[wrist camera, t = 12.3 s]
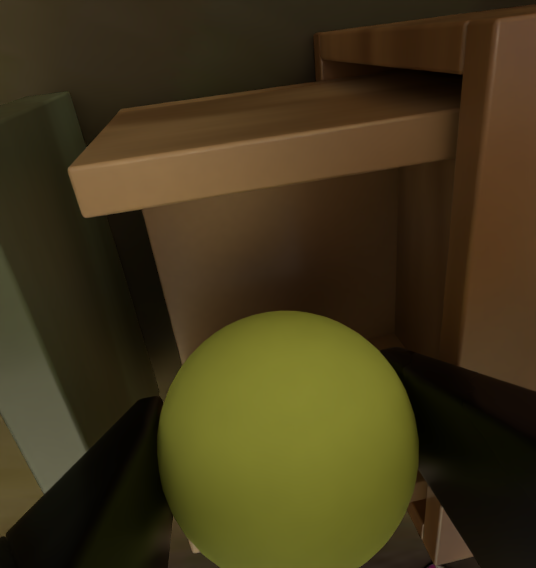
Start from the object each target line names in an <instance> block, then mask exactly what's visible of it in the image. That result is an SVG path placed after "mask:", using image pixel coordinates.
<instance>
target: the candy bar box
mask: <svg viewBox="0 0 536 568" xmlns="http://www.w3.org/2000/svg"><path fill="white" fill-rule="evenodd" d="M427 568H446V567H444V566H441V565H437V566H436V565H434V563H433V564H431V565H429V566H428V567H427Z"/></svg>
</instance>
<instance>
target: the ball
mask: <svg viewBox="0 0 536 568" xmlns="http://www.w3.org/2000/svg"><path fill="white" fill-rule="evenodd" d="M157 457H158V467H159V474H160V480H161V485H162V490H163V492H164V495H165V497H166V500H167V502H168V505H169V507H170V510H171V512H172V514H173V516H174V518H175V519H176V521H177V523H178V524H179V526H180V527H181V529H182V531H183V532H184V534H185V535H186V537H187V538H188V539H189V540H190V541H191V542H192V543H193V544H194V545H195V547H196V548H197V549H198V550H199V551H200V552H201V553H202V554H203V555H204V556H206V557H207V558H208V559H210V560H211V561H212V562H214V563H215V564H216V565H218V566H219V567H220V568H359V567H361V566H362V565H363V564H365V563H366V562H367V561H368V560H369V559H371V558H372V557H373V556H374V555H375V554H376V553H377V552H378V551H379V550H380V549H381V548H382V547H383V546H384V545H385V544H386V543H387V542H388V540H389V539H390V538H391V536H392V535H393V533H394V532H395V530H396V529H397V527H398V526H399V524H400V523H401V521H402V519H403V517H404V515H405V513H406V511H407V508H408V505H409V503H410V500H411V497H412V495H413V492H414V488H415V483H416V477H417V472H418V466H419V438H418V432H417V426H416V420H415V414H414V411H413V408H412V405H411V403H410V400H409V397H408V394H407V392H406V389H405V388H404V386H403V384H402V382H401V380H400V378H399V377H398V375H397V373H396V372H395V370H394V368H393V367H392V366H391V365H390V363H389V362H388V361H387V360H386V358H385V357H384V356H383V355H382V354H381V353H380V351H379V350H378V349H377V348H376V347H374V346H373V345H372V344H371V343H370V342H369V341H367V340H366V339H365V338H364V337H363V336H361V335H360V334H359V333H357V332H355V331H354V330H352V329H350V328H349V327H347V326H345V325H343V324H341V323H340V322H337V321H335V320H332V319H330V318H327V317H324V316H320V315H316V314H312V313H308V312H301V311H272V312H264V313H260V314H255V315H251V316H249V317H246V318H243V319H240V320H237V321H235V322H233V323H231V324H229V325H227V326H225V327H223V328H222V329H220V330H219V331H217V332H215V333H214V334H213V335H211V336H210V337H209V338H208V339H206V340H205V341H204V342H203V343H202V344H201V345H200V346H199V347H198V348H197V349H196V350H195V351H194V352H193V353H192V354H191V355H190V356H189V357H188V358H187V360H186V361H185V362H184V364H183V365H182V366H181V368H180V370H179V371H178V373H177V375H176V376H175V378H174V380H173V382H172V384H171V385H170V387H169V390H168V393H167V396H166V398H165V401H164V404H163V407H162V410H161V414H160V420H159V425H158V432H157Z"/></svg>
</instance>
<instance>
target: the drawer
mask: <svg viewBox="0 0 536 568" xmlns="http://www.w3.org/2000/svg"><path fill="white" fill-rule="evenodd" d="M462 78H463V75H458V74H449V73H440V72H431V71H421V70H412V69H401V70H394V71H387V72H380V73H373V74H366V75H359V76H352V77H345V78H338V79H330V80H323V81H316V82H309V83H302V84H295V85H288V86H281V87H274V88H267V89H259V90H252V91H245V92H238V93H231V94H224V95H217V96H210V97H203V98H196V99H189V100H181V101H174V102H167V103H160V104H153V105H146V106H139V107H132V108H125V109H121V110H120V111H119V112H118V113H117V114H116V115H115V117H114V118H113V119H112V120H111V121H110V122H109V123H108V124H107V125H106V126H105V128H104V129H103V130H102V131H101V132H100V133H99V134H98V135H97V136H96V138H95V139H94V140H93V141H92V142H91V143H90V144H89V145H88V146H87V147H86V145H85V142H84V139H83V135H82V132H81V129H80V125H79V122H78V119H77V115H76V112H75V109H74V105H73V102H72V99H71V95H70V93H69V92H67V91H65V92H58V93H50V94H43V95H35V96H28V97H24V98H21V99H18V100H15V101H12V102H9V103H6V104H3V105H0V414H1V416H2V418H3V420H4V422H5V423H6V425H7V427H8V429H9V431H10V433H11V434H12V436H13V438H14V440H15V442H16V444H17V446H18V447H19V449H20V451H21V453H22V455H23V457H24V459H25V460H26V462H27V464H28V466H29V468H30V470H31V472H32V473H33V475H34V477H35V479H36V481H37V483H38V485H39V486H40V488H41V490H42V492H43V494H45V493H46V492H47V491H48V490H49V489H50V488H51V487H52V486H53V485H54V484H55V483H56V482H57V481H58V480H59V479H60V478H61V477H62V476H63V475H64V474H65V473H66V472H67V471H68V470H69V469H70V468H71V467H72V466H73V465H74V464H75V463H76V462H77V461H78V460H79V459H80V458H81V457H82V456H83V455H84V454H85V453H86V452H87V451H88V450H89V449H90V448H91V447H92V446H93V445H94V444H95V443H96V442H97V441H98V440H99V439H100V438H101V437H102V436H103V435H104V434H105V433H106V432H107V431H108V430H109V429H110V428H111V427H112V426H113V425H114V424H115V423H116V422H117V421H118V420H119V419H120V418H121V417H122V416H123V415H124V414H125V413H126V412H127V411H128V410H129V409H130V408H131V407H132V406H133V405H134V404H135V403H136V402H137V401H138V400H139V399H142V398H147V397H151V396H159V388H158V385H157V382H156V378H155V375H154V372H153V368H152V365H151V362H150V358H149V355H148V352H147V348H146V345H145V342H144V338H143V335H142V332H141V328H140V325H139V322H138V318H137V315H136V312H135V308H134V305H133V302H132V298H131V295H130V292H129V288H128V285H127V282H126V278H125V275H124V272H123V268H122V265H121V262H120V258H119V255H118V252H117V248H116V245H115V242H114V238H113V235H112V232H111V228H110V225H109V222H108V218H107V215H110V214H116V213H122V212H128V211H134V210H140V209H142V213H143V217H144V221H145V225H146V229H147V232H148V236H149V240H150V244H151V248H152V252H153V256H154V259H155V263H156V267H157V271H158V275H159V279H160V283H161V286H162V290H163V294H164V298H165V302H166V306H167V310H168V313H169V317H170V321H171V325H172V329H173V333H174V337H175V340H176V344H177V348H178V352H179V356H180V360H181V364H182V365H183V364H184V362H185V361H186V360H187V358H188V357H189V356H190V355H191V354H192V353H193V352H194V351H195V350H196V349H197V348H198V347H199V346H200V345H201V344H202V343H203V342H204V341H205V340H206V339H208V338H209V337H210V336H211V335H213V334H214V333H215V332H217V331H219V330H220V329H222V328H223V327H225V326H227V325H229V324H231V323H233V322H235V321H237V320H240V319H243V318H246V317H249V316H251V315H255V314H260V313H264V312H272V311H301V312H308V313H312V314H316V315H320V316H324V317H327V318H330V319H332V320H335V321H337V322H340V323H341V324H343V325H345V326H347V327H349V328H350V329H352V330H354V331H355V332H357V333H359V334H360V335H361V336H363V337H364V338H365V339H366V340H367V341H369V342H370V343H371V344H372V345H373V346H374V347H376V348H377V349H378V350H379V351H380V350H382V349H387V348H392V347H401V348H404V349H407V350H410V351H413V352H416V353H419V354H422V355H425V356H428V357H431V358H435V359H438V358H439V346H440V334H441V323H442V311H443V299H444V288H445V276H446V264H447V253H448V241H449V230H450V218H451V206H452V195H453V183H454V171H455V160H456V148H457V136H458V125H459V113H460V102H461V90H462ZM427 486H428V484H427V482H426V481H425V479H424V478H423V476H422V475H421V473H420V471H419V470H418V472H417V477H416V483H415V488H414V492H413V495H412V497H411V500H410V502H413V501H418V500H422V499H426V497H427ZM188 540H189V539H188ZM189 543H190V546H191V549H192V552H193V553H198V552H200V551H199V550H198V549H197V548H196V547H195V545H194V544H193V543H192V542H191V541H190V540H189Z"/></svg>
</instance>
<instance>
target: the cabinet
mask: <svg viewBox="0 0 536 568" xmlns="http://www.w3.org/2000/svg"><path fill="white" fill-rule="evenodd" d="M313 39H314V57H315V74H316V81H323V80H330V79H338V78H345V77H352V76H359V75H366V74H373V73H380V72H387V71H394V70H401V69H412V70H421V71H431V72H440V73H449V74H458V75H463V78H462V90H461V102H460V113H459V125H458V136H457V148H456V160H455V171H454V183H453V195H452V206H451V218H450V230H449V241H448V253H447V264H446V276H445V288H444V299H443V311H442V323H441V334H440V346H439V358H438V360H441V361H444V362H447V363H450V364H453V365H456V366H459V367H462V368H465V369H469V370H472V371H475V372H478V373H481V374H484V375H487V376H490V377H493V378H496V379H499V380H502V381H506V382H509V383H512V384H515V385H518V386H521V387H524V388H527V389H530V390H533V391H536V4H533V5H525V6H518V7H510V8H502V9H495V10H487V11H479V12H472V13H464V14H456V15H449V16H441V17H433V18H426V19H418V20H410V21H402V22H395V23H387V24H379V25H372V26H364V27H356V28H349V29H341V30H333V31H326V32H318V33H315V34H314V36H313ZM407 511H408V513H409V515H410V517H411V519H412V521H413V523H414V525H415V527H416V529H417V532H418V534H419V536H420V538H421V539H422V540H423V543H424V545H425V547H426V549H427V551H428V553H429V555H430V557H431V560H432V562H433V563H434V565H436V566H437V565H441V564H445V563H449V562H453V561H457V560H461V559H465V558H469V557H473V554H472V553H471V551H470V550H469V548H468V547H467V545H466V543H465V542H464V540H463V539H462V537H461V536H460V534H459V533H458V531H457V529H456V528H455V526H454V525H453V523H452V522H451V520H450V518H449V517H448V515H447V514H446V512H445V511H444V509H443V507H442V506H441V504H440V503H439V501H438V500H437V498H436V496H435V495H434V493H433V492H432V490H431V489H430V487H429V486H427V497H426V499H422V500H418V501H413V502H410V503H409V505H408V508H407Z"/></svg>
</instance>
